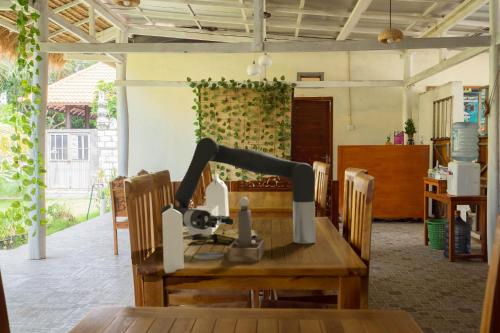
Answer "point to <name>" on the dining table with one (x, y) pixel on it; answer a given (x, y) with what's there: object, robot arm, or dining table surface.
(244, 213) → the pepper mill
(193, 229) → the storage container
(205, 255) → the disc
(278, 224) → the dining table surface
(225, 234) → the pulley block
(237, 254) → the caddy
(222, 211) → the milk
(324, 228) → the dining table surface
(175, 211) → the milk
